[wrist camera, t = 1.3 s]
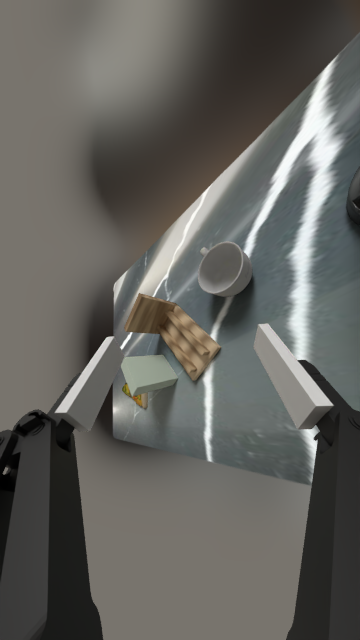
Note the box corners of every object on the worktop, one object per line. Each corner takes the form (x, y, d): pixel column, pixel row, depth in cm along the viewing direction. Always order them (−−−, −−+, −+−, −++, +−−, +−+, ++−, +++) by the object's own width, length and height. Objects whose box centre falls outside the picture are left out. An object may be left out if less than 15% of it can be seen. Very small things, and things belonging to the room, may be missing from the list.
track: (221, 347, 36) (182, 348, 26) (196, 379, 40) (154, 391, 30) (175, 303, 50) (139, 293, 40) (160, 330, 54) (124, 327, 44)
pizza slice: (150, 407, 53) (143, 410, 51) (125, 407, 66) (119, 409, 64) (146, 364, 59) (139, 365, 57) (123, 372, 71) (117, 373, 69)
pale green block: (178, 377, 45) (137, 387, 35) (172, 385, 46) (131, 396, 36) (163, 354, 51) (125, 357, 41) (158, 361, 52) (120, 365, 42)
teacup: (266, 282, 30) (253, 268, 25) (223, 309, 37) (205, 302, 31) (238, 240, 36) (222, 220, 30) (205, 269, 42) (187, 257, 37)
